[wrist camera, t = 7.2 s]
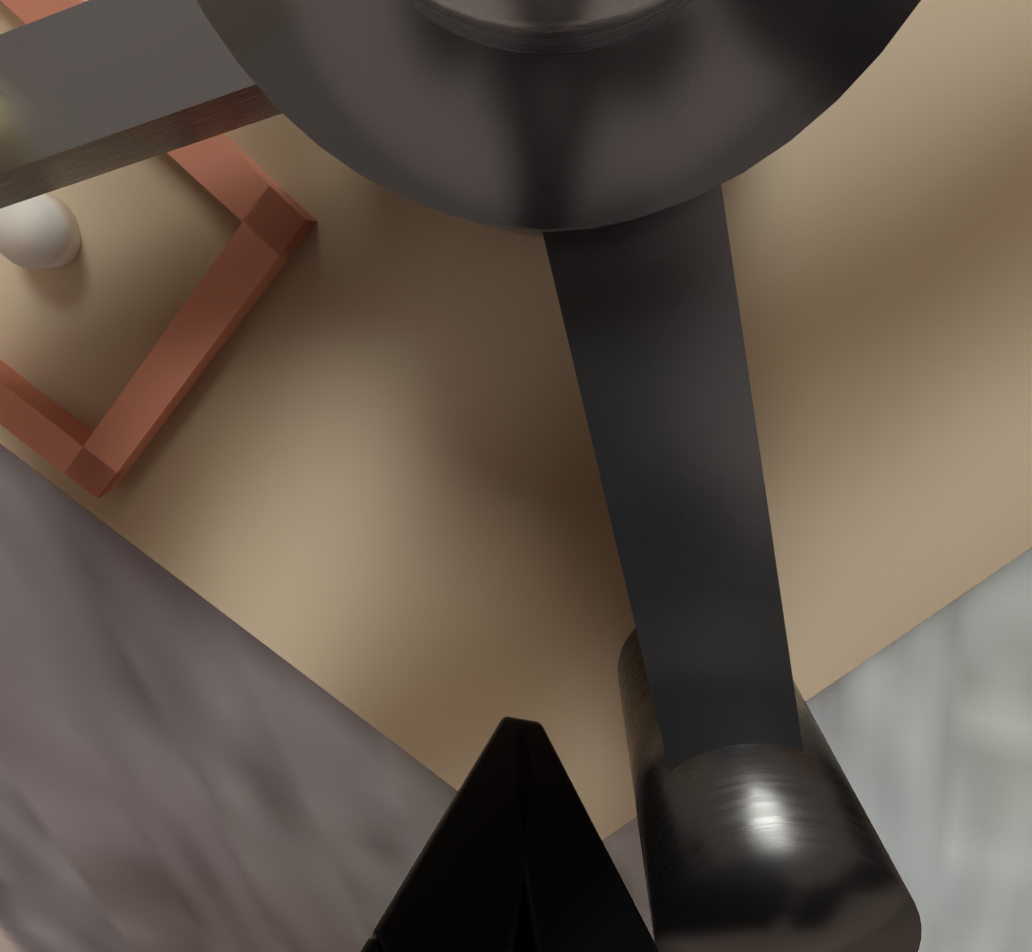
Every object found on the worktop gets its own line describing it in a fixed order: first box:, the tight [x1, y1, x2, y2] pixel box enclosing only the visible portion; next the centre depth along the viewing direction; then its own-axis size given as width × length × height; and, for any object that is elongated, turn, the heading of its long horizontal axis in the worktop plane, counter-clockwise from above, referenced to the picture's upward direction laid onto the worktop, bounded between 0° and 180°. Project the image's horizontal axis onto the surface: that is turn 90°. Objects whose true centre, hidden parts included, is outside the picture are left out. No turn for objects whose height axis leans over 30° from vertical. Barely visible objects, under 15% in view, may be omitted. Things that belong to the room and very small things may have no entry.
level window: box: [0, 0, 317, 499], centre depth 9 cm, size 6×6×1 cm
